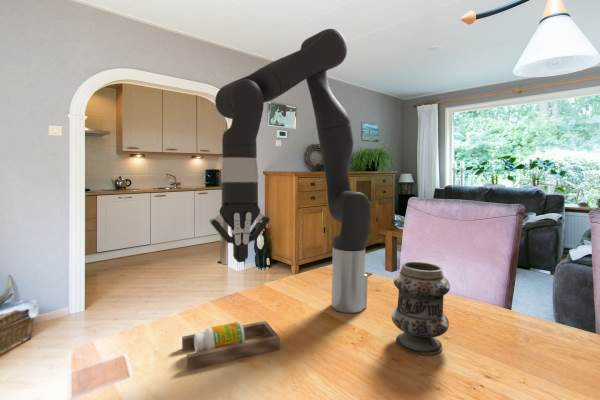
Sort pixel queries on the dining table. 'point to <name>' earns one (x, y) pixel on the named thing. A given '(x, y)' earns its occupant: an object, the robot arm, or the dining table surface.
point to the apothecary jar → (420, 307)
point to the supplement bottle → (219, 337)
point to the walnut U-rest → (233, 347)
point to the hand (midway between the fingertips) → (240, 261)
